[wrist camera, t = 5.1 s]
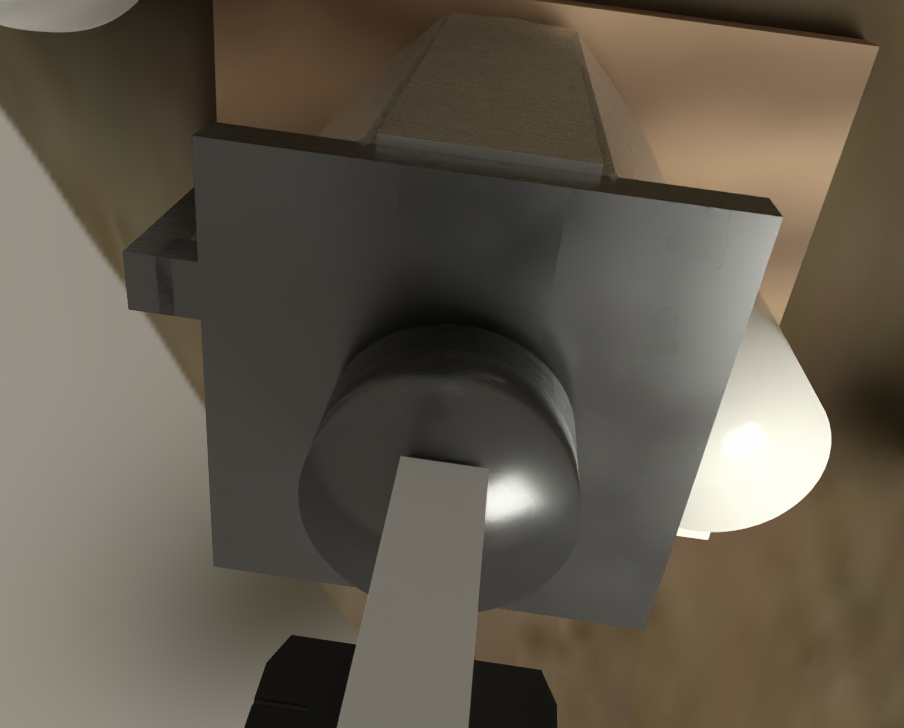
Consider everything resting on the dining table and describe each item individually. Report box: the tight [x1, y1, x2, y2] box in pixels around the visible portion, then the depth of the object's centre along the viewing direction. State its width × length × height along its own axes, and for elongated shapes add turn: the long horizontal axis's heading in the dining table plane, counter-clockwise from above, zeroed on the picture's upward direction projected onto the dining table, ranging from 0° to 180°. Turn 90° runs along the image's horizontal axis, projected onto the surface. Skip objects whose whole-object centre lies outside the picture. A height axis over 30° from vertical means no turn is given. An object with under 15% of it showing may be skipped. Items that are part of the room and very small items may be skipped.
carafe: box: [123, 12, 783, 630], centre depth 25 cm, size 11×14×18 cm
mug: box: [676, 290, 831, 540], centre depth 32 cm, size 9×7×9 cm
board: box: [213, 0, 879, 325], centre depth 34 cm, size 16×24×2 cm, turn 84°
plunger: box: [298, 324, 581, 612], centre depth 22 cm, size 8×8×18 cm
